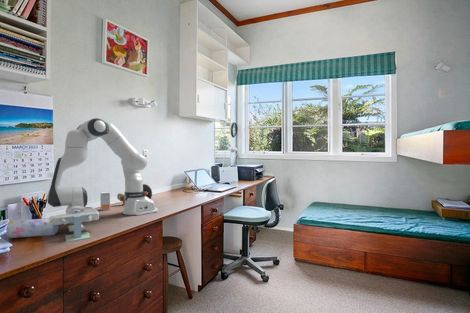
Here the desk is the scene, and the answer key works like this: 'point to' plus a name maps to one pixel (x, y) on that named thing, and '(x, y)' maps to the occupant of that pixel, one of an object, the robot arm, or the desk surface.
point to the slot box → (71, 228)
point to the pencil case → (31, 227)
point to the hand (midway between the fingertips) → (77, 221)
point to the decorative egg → (147, 190)
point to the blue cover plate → (77, 226)
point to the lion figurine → (121, 198)
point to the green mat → (84, 236)
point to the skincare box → (105, 200)
